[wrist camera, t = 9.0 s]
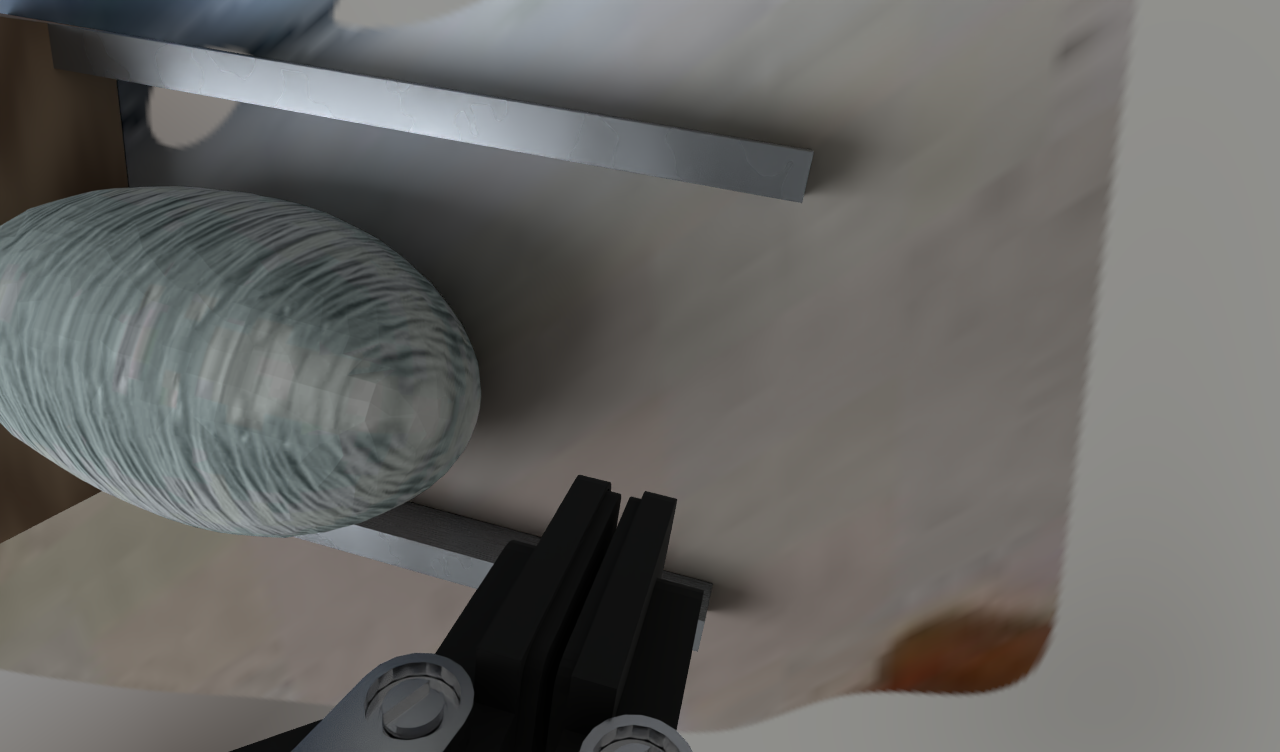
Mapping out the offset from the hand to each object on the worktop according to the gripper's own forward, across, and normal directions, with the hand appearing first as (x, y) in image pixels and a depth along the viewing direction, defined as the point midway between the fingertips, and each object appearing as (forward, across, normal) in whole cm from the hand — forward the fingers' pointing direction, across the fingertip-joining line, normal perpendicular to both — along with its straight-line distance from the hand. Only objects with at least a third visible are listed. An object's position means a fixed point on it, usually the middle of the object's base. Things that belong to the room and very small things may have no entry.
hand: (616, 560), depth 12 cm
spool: (+11, +13, +2) cm, 17 cm away
